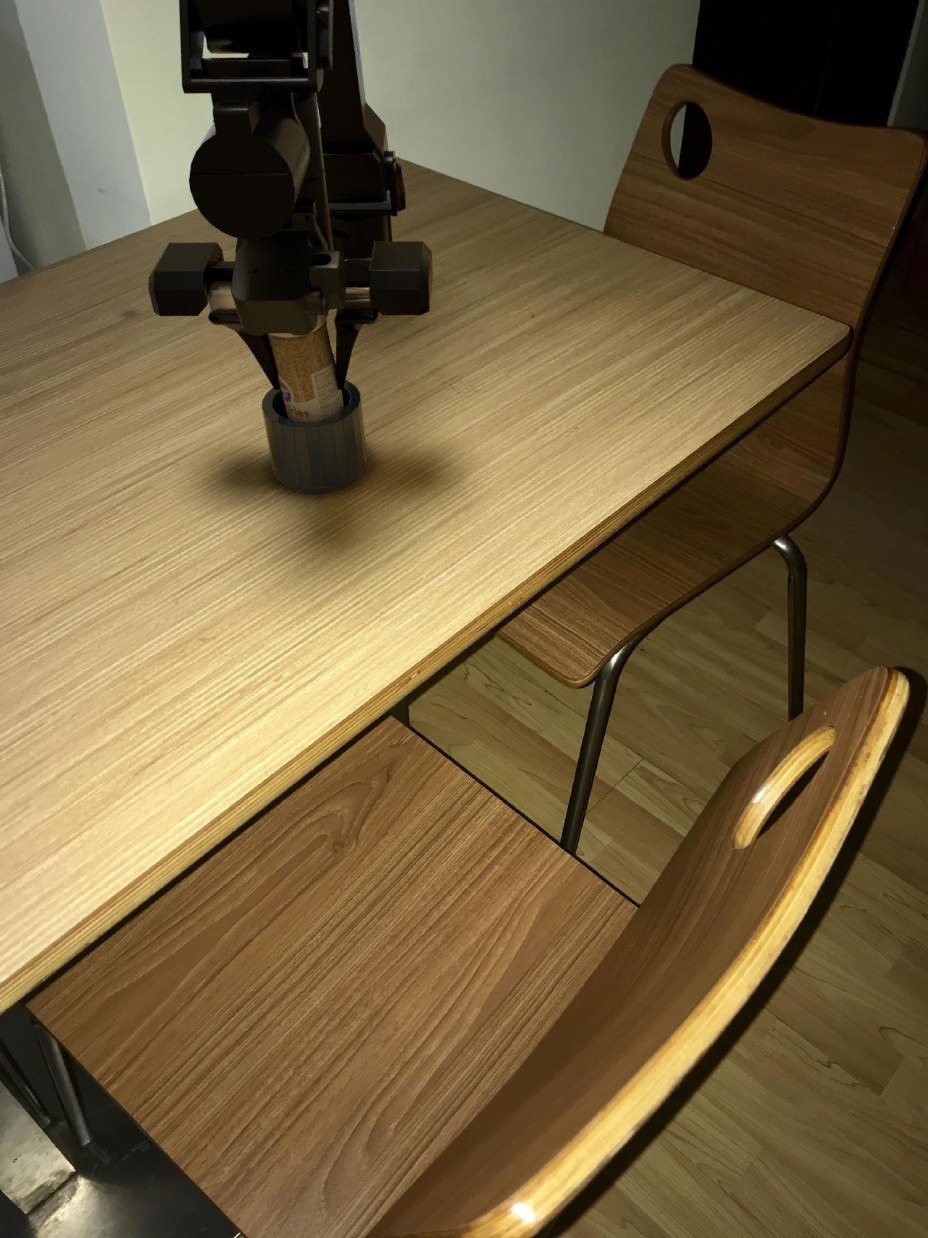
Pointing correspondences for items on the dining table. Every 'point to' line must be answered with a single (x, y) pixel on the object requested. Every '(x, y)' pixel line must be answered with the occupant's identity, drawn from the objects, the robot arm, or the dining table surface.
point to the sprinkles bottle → (307, 374)
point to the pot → (316, 445)
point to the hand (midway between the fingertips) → (309, 386)
